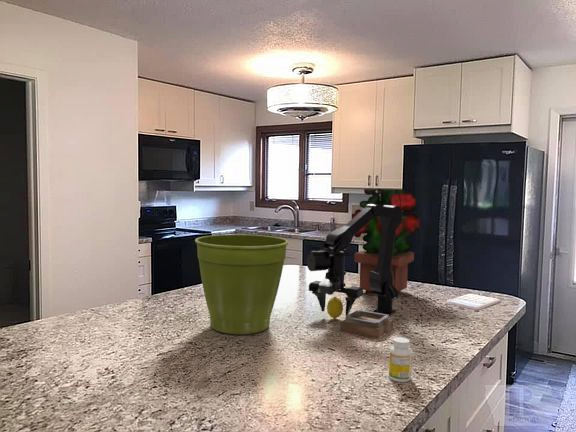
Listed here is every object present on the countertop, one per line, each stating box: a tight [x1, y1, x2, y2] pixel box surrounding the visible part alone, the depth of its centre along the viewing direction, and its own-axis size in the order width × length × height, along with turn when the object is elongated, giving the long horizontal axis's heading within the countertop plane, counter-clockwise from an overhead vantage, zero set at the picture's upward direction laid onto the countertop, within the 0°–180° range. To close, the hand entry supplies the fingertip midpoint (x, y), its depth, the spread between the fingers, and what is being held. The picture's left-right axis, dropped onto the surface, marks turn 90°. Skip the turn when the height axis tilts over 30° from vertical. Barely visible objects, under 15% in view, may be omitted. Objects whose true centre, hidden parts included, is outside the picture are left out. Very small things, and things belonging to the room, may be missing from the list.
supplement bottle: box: [388, 337, 413, 383], centre depth 118 cm, size 5×5×10 cm
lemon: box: [326, 296, 344, 320], centre depth 168 cm, size 6×6×8 cm
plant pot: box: [194, 234, 289, 335], centre depth 156 cm, size 30×30×29 cm
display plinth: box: [339, 309, 394, 340], centre depth 157 cm, size 13×13×4 cm
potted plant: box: [351, 188, 420, 296], centre depth 208 cm, size 22×22×45 cm
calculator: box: [446, 293, 500, 311], centre depth 196 cm, size 13×20×2 cm, turn 133°
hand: (334, 313), depth 168 cm, fingers open, 9 cm apart
